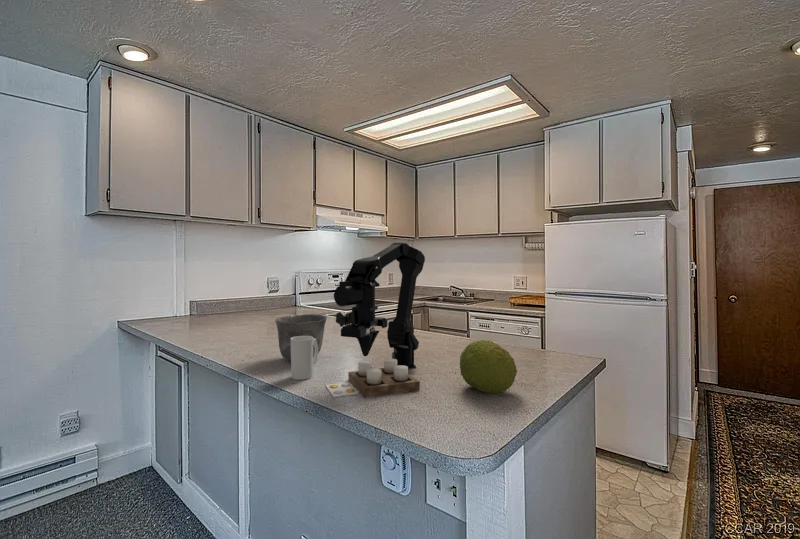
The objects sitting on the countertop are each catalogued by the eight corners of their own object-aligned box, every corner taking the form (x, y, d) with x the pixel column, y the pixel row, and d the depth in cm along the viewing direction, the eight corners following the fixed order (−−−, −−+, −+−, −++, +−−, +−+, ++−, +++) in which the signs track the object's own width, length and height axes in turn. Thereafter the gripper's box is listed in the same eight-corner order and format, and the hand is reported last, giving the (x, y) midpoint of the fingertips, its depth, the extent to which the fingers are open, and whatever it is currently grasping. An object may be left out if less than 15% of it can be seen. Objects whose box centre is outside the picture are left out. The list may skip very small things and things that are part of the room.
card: (349, 383, 115) (349, 381, 115) (359, 394, 105) (359, 392, 105) (325, 386, 112) (325, 384, 112) (333, 397, 103) (333, 395, 103)
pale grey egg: (394, 368, 121) (394, 358, 121) (399, 371, 117) (399, 361, 117) (382, 369, 120) (382, 359, 119) (386, 373, 116) (386, 362, 116)
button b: (404, 375, 114) (404, 364, 114) (410, 379, 110) (410, 368, 110) (391, 377, 112) (391, 366, 112) (396, 381, 108) (397, 369, 108)
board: (397, 373, 124) (397, 366, 124) (419, 389, 109) (419, 381, 109) (348, 379, 118) (348, 371, 118) (364, 397, 103) (364, 388, 103)
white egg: (369, 371, 118) (369, 360, 118) (373, 374, 114) (373, 364, 114) (356, 372, 116) (356, 361, 116) (360, 376, 113) (360, 365, 113)
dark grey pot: (289, 352, 151) (288, 313, 150) (333, 354, 148) (333, 314, 148) (267, 365, 133) (266, 321, 132) (317, 367, 131) (317, 322, 130)
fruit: (526, 388, 110) (529, 348, 103) (492, 417, 103) (492, 376, 96) (482, 359, 122) (482, 320, 114) (449, 383, 115) (446, 344, 107)
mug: (301, 381, 116) (301, 341, 115) (286, 377, 119) (285, 338, 119) (325, 373, 124) (325, 335, 124) (310, 369, 128) (310, 333, 127)
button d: (378, 378, 111) (378, 367, 111) (383, 383, 107) (383, 371, 107) (364, 380, 109) (364, 369, 109) (369, 384, 105) (369, 373, 105)
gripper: (356, 298, 126) (356, 346, 127) (324, 305, 109) (324, 360, 110) (388, 300, 122) (388, 349, 123) (359, 307, 105) (359, 365, 106)
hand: (365, 355), depth 115 cm, fingers closed
